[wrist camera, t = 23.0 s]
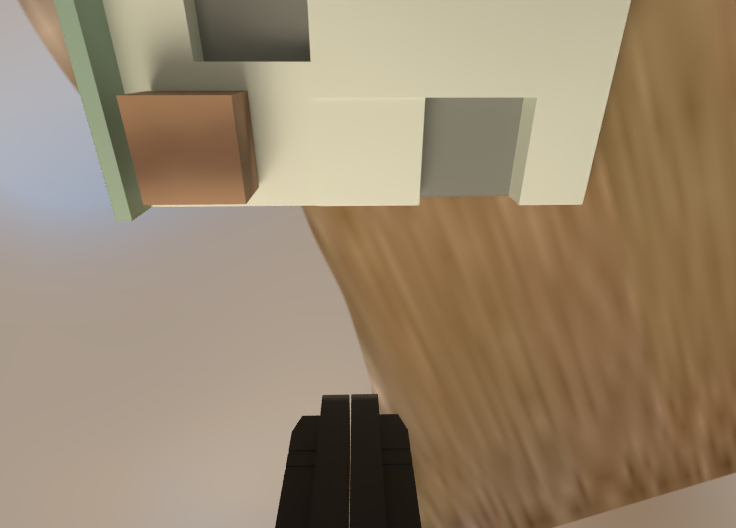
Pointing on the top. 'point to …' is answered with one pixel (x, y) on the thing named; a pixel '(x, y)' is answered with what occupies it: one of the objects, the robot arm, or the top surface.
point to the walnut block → (191, 146)
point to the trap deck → (365, 91)
